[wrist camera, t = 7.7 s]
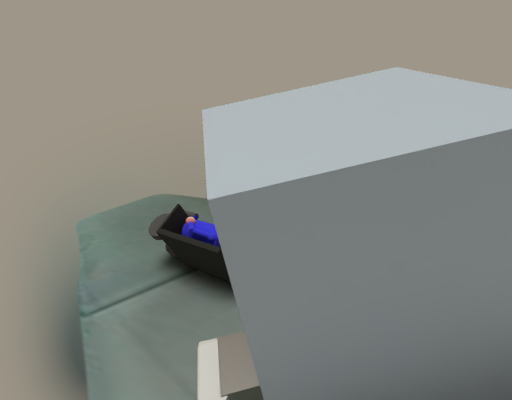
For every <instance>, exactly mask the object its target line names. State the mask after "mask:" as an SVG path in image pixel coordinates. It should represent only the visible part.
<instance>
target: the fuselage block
mask: <svg viewBox="0 0 512 400" xmlns="http://www.w3.org/2000/svg"><path fill="white" fill-rule="evenodd" d="M202 115H203V116H202V117H203V133H204V149H205V165H206V182H207V200H208V204H209V207H210V211H211V214H212V218H213V221H214V225H215V228H216V232H217V235H218V239H219V243H220V246H221V250H222V253H223V257H224V260H225V264H226V267H227V271H228V275H229V278H230V282H231V285H232V289H233V292H234V296H235V299H236V303H237V306H238V310H239V314H240V317H241V321H242V324H243V328H244V331H245V335H246V338H247V342H248V346H249V349H250V353H251V356H252V360H253V363H254V367H255V370H256V374H257V377H258V381H259V385H260V388H261V392H262V395H263V399H264V400H512V89H507V88H502V87H497V86H492V85H486V84H481V83H476V82H471V81H466V80H461V79H455V78H450V77H445V76H440V75H435V74H430V73H425V72H419V71H414V70H409V69H404V68H399V67H396V68H391V69H386V70H382V71H377V72H373V73H368V74H363V75H359V76H355V77H350V78H345V79H341V80H336V81H332V82H327V83H322V84H318V85H314V86H309V87H304V88H300V89H295V90H291V91H286V92H281V93H278V94H272V95H268V96H263V97H259V98H255V99H250V100H245V101H240V102H236V103H232V104H227V105H222V106H218V107H213V108H209V109H205V110H202Z"/></svg>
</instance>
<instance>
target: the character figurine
mask: <svg viewBox="0 0 512 400" xmlns="http://www.w3.org/2000/svg"><path fill="white" fill-rule="evenodd" d="M198 217H199V215H198V214H196V213H192V212H188V211H185V210H183V208H182V207H181V206H180V205H179V204H177V205H176V207H175V208H174V209H173V211H172V212H171V213H170V214H163V215H160V216H159V217H157V218H156V219H155V220H154V221H153V222H152V223H151V225H150V227H149V234H150V235H151V236H152V237H153V238H154V239H156V240H163V241H164V242H165V243H166V250H167V251H168V253H169V254H170V255H171V256H173V257H179V258H180V259H181V261H182V262H183V263H184V264H185V265H187V266H190V267H192V268H195V269H197V270H200V271H203V272H205V273H208V274H210V275H213V276H215V277H218V278H221V279H223V280H226V281H228V282H230V278H229V275H228V271H227V267H226V264H225V260H224V257H223V253H222V250H221V246H220V243H219V239H218V235H217V232H216V228H215V225H214V224H210V223H206V222H203V221H199V220H197V219H198Z"/></svg>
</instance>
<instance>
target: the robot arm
mask: <svg viewBox="0 0 512 400" xmlns="http://www.w3.org/2000/svg"><path fill="white" fill-rule="evenodd" d="M198 400H264V399H263V395H262V392H261V388H260V385H259V381H258V377H257V374H256V370H255V367H254V363H253V360H252V356H251V353H250V349H249V346H248V342H247V338H246V335H245V331H244V332H239V333H235V334H230V335H226V336H222V337H219V338H214V339H210V340H206V341H202V342H199V345H198Z"/></svg>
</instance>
